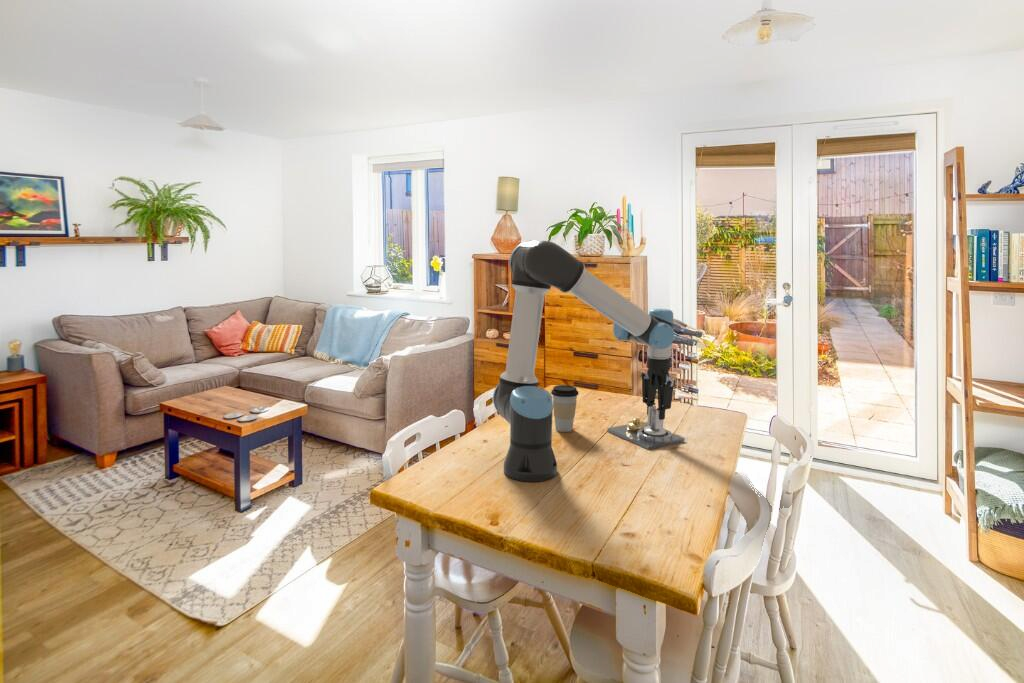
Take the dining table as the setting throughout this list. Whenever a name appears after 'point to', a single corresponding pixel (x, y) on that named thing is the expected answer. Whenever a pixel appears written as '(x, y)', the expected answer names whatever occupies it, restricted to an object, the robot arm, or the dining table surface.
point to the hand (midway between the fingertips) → (655, 426)
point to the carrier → (643, 435)
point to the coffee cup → (564, 406)
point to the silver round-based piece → (651, 430)
